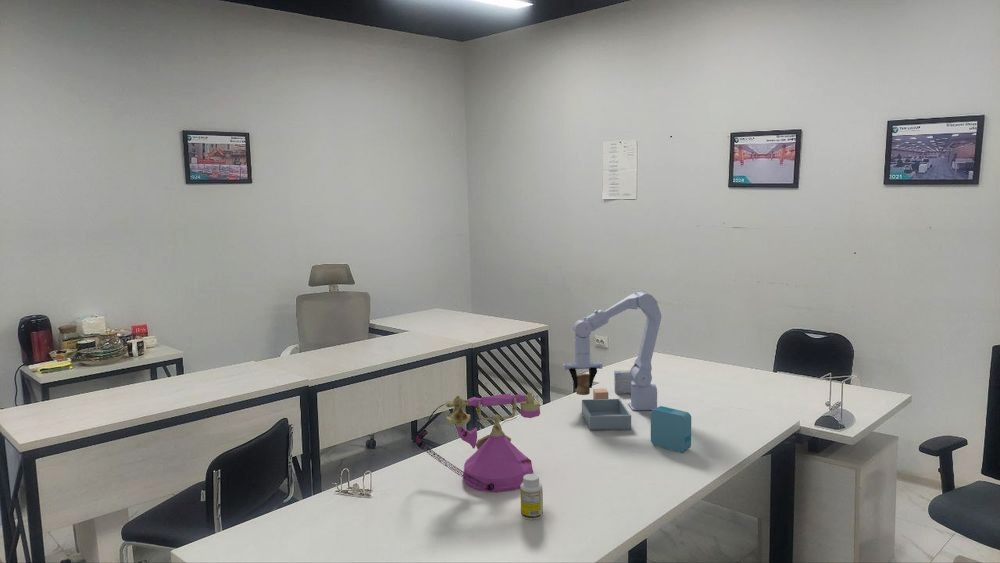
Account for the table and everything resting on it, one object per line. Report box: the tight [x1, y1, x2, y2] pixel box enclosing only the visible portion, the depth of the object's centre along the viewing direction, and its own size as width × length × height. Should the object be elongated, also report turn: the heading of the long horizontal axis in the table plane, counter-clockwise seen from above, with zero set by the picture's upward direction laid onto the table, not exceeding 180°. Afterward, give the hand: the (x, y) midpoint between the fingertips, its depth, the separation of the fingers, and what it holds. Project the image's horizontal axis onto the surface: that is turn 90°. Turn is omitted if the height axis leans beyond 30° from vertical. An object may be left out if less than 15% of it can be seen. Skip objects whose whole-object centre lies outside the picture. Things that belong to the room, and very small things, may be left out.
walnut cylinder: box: [575, 372, 591, 396], centre depth 242 cm, size 5×5×7 cm
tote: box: [581, 398, 632, 432], centre depth 229 cm, size 14×19×5 cm
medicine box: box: [613, 369, 633, 394], centre depth 263 cm, size 8×4×9 cm, turn 84°
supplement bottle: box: [519, 473, 544, 521], centre depth 161 cm, size 6×6×10 cm
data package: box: [650, 405, 692, 454], centre depth 203 cm, size 12×4×12 cm, turn 45°
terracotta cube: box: [592, 388, 609, 400], centre depth 250 cm, size 5×5×5 cm
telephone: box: [415, 391, 541, 493], centre depth 181 cm, size 36×22×25 cm, turn 100°
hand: (583, 387), depth 242 cm, fingers closed on walnut cylinder, 5 cm apart
